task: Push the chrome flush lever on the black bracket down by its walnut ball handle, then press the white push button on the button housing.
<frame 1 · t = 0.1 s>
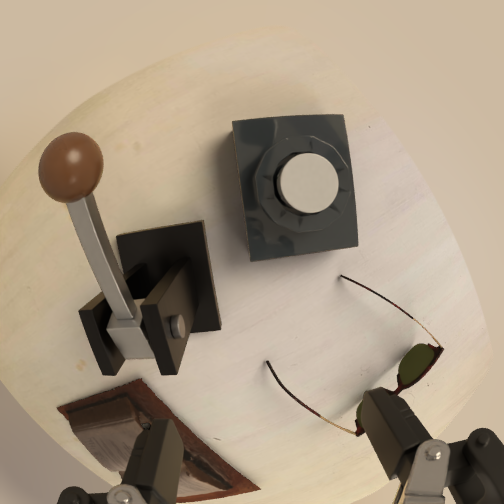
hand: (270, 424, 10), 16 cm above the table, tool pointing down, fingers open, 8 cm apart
white push button: (307, 183, 19), point 5 cm above the table, slide at 0.1 cm
book: (156, 457, 31), on the table
lever bracket: (170, 280, 25), on the table
flush lever: (102, 259, 13), point 12 cm above the table, hinge at 20.0°
button housing: (291, 185, 24), on the table
sunglasses: (350, 351, 28), on the table
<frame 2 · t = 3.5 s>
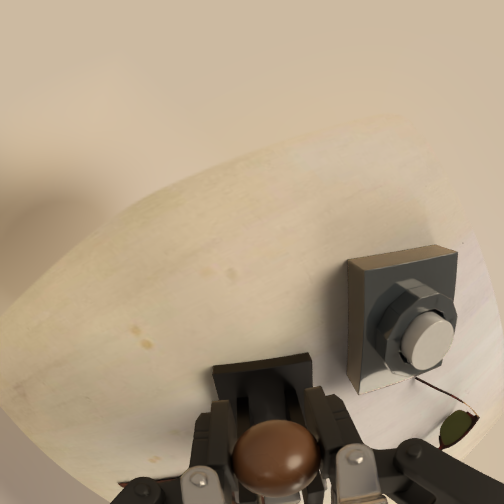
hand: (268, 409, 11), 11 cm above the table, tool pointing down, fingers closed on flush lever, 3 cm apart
white push button: (427, 341, 16), point 5 cm above the table, slide at 0.1 cm
lever bracket: (267, 401, 23), on the table
flush lever: (279, 479, 10), point 12 cm above the table, hinge at 20.0°, touching gripper
button housing: (393, 312, 22), on the table
sunglasses: (407, 425, 26), on the table
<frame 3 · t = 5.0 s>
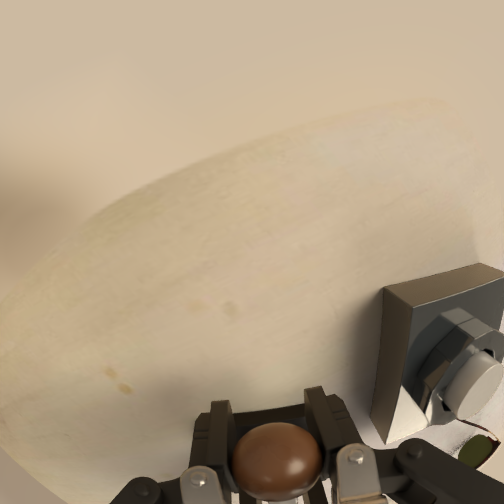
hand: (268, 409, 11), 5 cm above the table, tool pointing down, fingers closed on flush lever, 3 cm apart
white push button: (474, 386, 11), point 5 cm above the table, slide at 0.1 cm
lever bracket: (274, 450, 17), on the table
button housing: (430, 345, 16), on the table
sunglasses: (426, 456, 20), on the table
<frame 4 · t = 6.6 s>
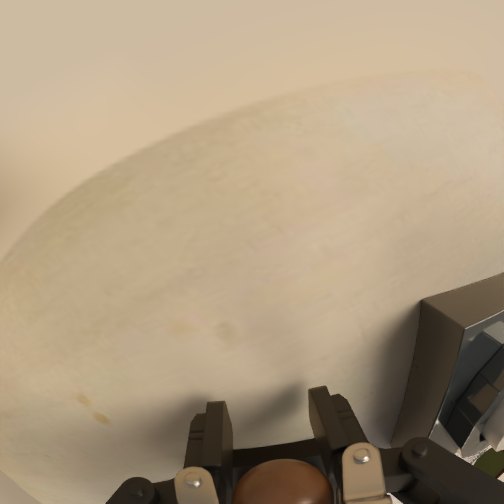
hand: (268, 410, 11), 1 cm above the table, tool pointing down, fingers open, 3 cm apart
lever bracket: (279, 483, 13), on the table
button housing: (463, 364, 12), on the table
sunglasses: (440, 473, 16), on the table
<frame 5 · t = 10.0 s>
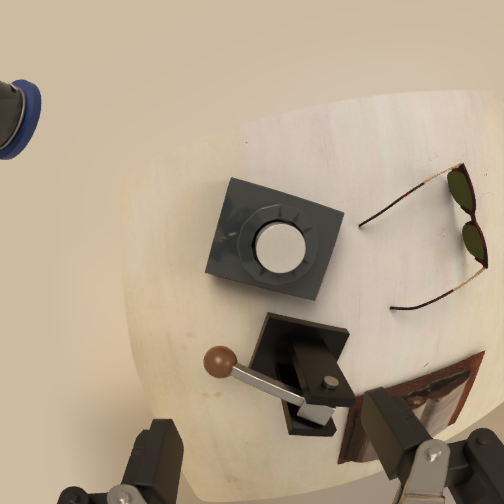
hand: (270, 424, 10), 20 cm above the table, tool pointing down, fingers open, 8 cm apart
white push button: (279, 247, 23), point 5 cm above the table, slide at 0.1 cm
book: (414, 412, 36), on the table
lever bracket: (297, 350, 32), on the table
flush lever: (267, 384, 23), point 8 cm above the table, hinge at -25.5°
button housing: (271, 236, 29), on the table
sunglasses: (420, 239, 30), on the table
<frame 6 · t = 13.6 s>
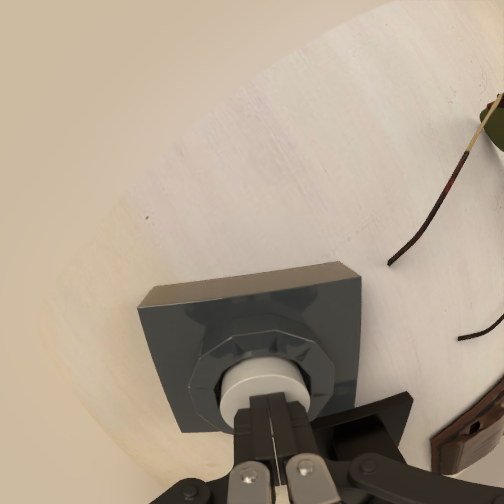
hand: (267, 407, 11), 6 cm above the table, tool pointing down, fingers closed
white push button: (264, 397, 12), point 5 cm above the table, slide at -0.2 cm, touching gripper
book: (501, 403, 23), on the table
lever bracket: (350, 436, 20), on the table
button housing: (256, 343, 17), on the table
sunglasses: (475, 230, 16), on the table
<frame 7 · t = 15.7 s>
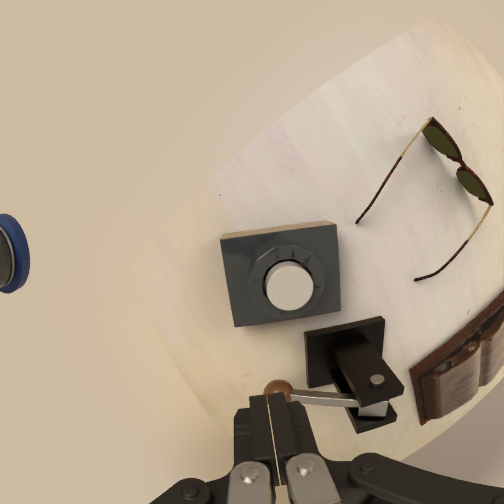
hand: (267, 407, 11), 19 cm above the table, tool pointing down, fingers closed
white push button: (288, 285, 24), point 5 cm above the table, slide at 0.1 cm
book: (474, 354, 35), on the table
lever bracket: (343, 351, 32), on the table
flush lever: (324, 398, 25), point 8 cm above the table, hinge at -25.5°
button housing: (280, 268, 30), on the table
sunglasses: (419, 205, 29), on the table
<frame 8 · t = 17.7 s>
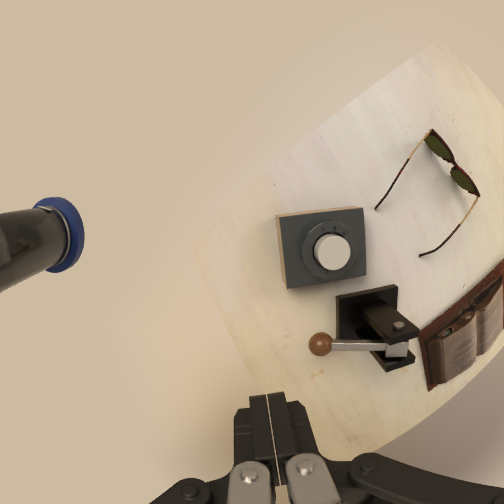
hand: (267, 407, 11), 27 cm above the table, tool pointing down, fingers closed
white push button: (332, 251, 32), point 5 cm above the table, slide at 0.1 cm
book: (470, 326, 43), on the table
lever bracket: (365, 313, 40), on the table
flush lever: (358, 345, 32), point 8 cm above the table, hinge at -25.5°
button housing: (319, 243, 37), on the table
sunglasses: (421, 196, 37), on the table
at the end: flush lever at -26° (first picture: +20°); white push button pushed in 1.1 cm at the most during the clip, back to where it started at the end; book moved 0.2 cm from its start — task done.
